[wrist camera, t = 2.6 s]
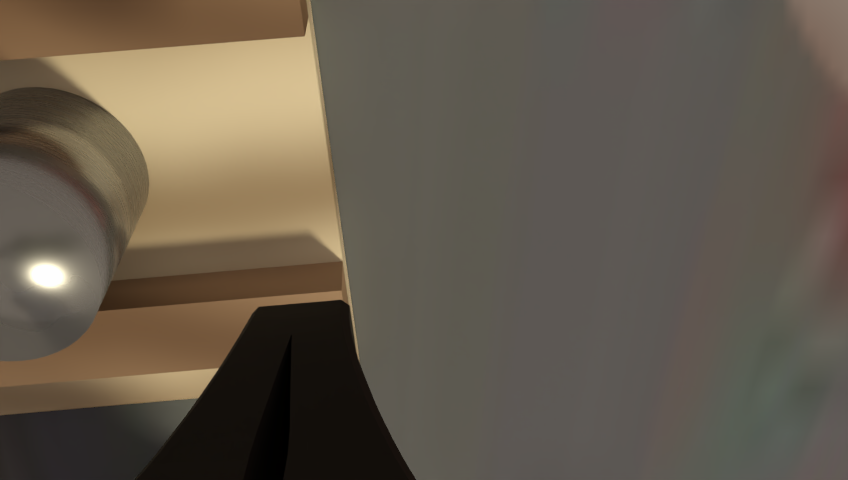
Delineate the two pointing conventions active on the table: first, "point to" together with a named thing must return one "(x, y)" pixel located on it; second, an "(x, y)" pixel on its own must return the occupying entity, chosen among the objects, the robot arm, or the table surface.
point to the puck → (61, 215)
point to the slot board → (187, 184)
